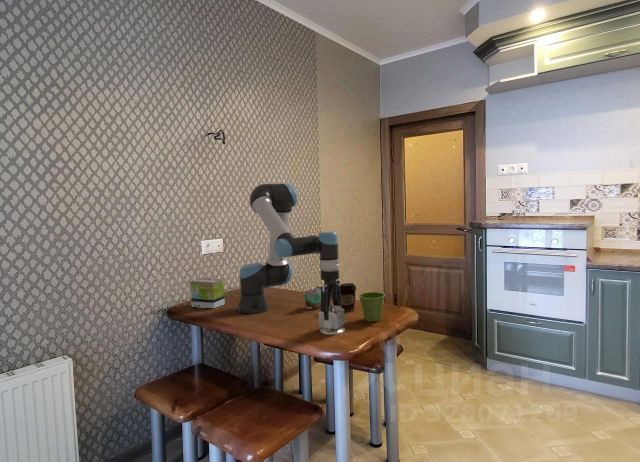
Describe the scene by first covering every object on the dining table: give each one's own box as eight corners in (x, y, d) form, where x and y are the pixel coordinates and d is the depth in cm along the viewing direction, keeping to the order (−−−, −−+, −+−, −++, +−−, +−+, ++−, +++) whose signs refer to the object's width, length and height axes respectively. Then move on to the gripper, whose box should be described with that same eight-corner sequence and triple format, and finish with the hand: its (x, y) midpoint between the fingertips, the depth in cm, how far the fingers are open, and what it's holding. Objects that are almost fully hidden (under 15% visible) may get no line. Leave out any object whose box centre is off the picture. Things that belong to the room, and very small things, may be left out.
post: (316, 333, 157) (314, 306, 157) (326, 325, 166) (325, 300, 166) (338, 335, 153) (337, 308, 152) (348, 328, 162) (347, 302, 161)
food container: (314, 312, 188) (313, 291, 188) (304, 310, 192) (303, 290, 191) (327, 305, 199) (327, 286, 198) (317, 304, 202) (316, 285, 201)
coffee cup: (355, 313, 184) (354, 286, 183) (338, 312, 185) (337, 286, 184) (357, 308, 192) (356, 282, 191) (341, 307, 194) (340, 282, 193)
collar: (319, 326, 158) (318, 312, 157) (327, 321, 165) (326, 307, 164) (337, 328, 154) (336, 314, 154) (344, 322, 161) (344, 308, 161)
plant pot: (365, 314, 180) (364, 291, 179) (390, 317, 174) (389, 292, 173) (354, 322, 170) (353, 296, 169) (380, 325, 164) (379, 299, 163)
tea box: (191, 308, 208) (189, 281, 207) (203, 303, 217) (201, 277, 216) (214, 309, 202) (212, 281, 201) (225, 304, 212) (223, 278, 211)
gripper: (327, 274, 147) (329, 333, 149) (347, 265, 166) (350, 317, 167) (309, 273, 150) (312, 331, 152) (331, 265, 169) (334, 316, 170)
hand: (332, 324), depth 159 cm, fingers closed on collar, 8 cm apart
